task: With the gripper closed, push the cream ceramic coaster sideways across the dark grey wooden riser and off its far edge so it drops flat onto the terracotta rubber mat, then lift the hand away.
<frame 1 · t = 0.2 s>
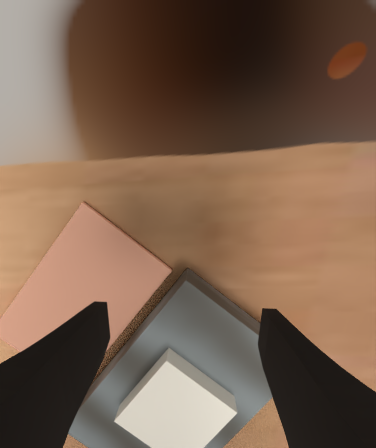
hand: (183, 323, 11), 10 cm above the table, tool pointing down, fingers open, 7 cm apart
coaster: (176, 400, 20), point 3 cm above the table, touching riser
riser: (179, 372, 23), on the table
mat: (80, 300, 22), on the table
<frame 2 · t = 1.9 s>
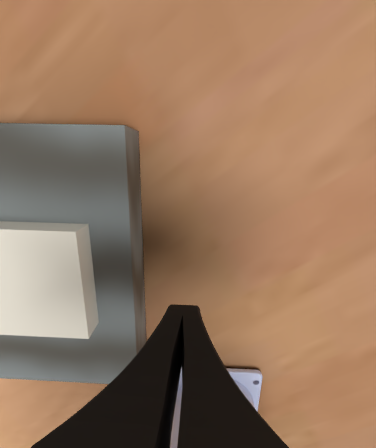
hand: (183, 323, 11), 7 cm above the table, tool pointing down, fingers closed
coaster: (40, 274, 15), point 3 cm above the table, touching riser
riser: (65, 255, 18), on the table
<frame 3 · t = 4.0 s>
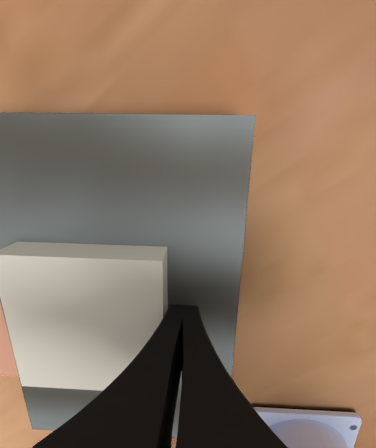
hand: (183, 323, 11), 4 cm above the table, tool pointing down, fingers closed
coaster: (98, 308, 12), point 3 cm above the table, touching gripper, riser
riser: (133, 279, 14), on the table
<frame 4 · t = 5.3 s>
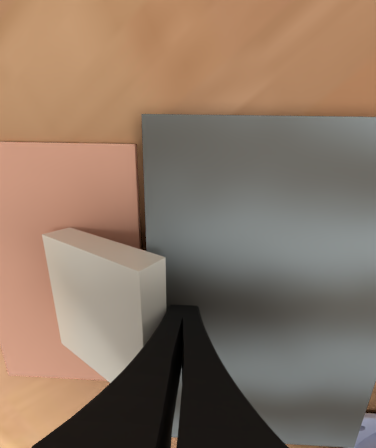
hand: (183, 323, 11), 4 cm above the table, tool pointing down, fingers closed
coaster: (115, 301, 12), point 2 cm above the table, tilted 31°
riser: (255, 283, 14), on the table
mat: (64, 276, 15), on the table
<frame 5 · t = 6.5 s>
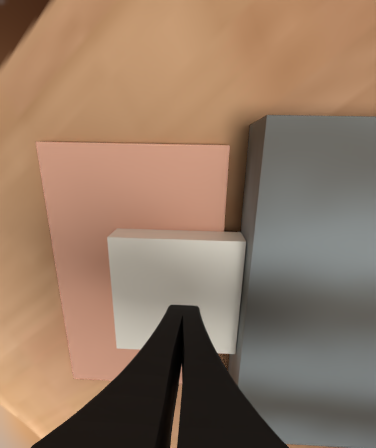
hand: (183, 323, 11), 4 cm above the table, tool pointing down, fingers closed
coaster: (177, 285, 14), resting on mat
riser: (334, 286, 14), on the table
mat: (139, 278, 14), on the table
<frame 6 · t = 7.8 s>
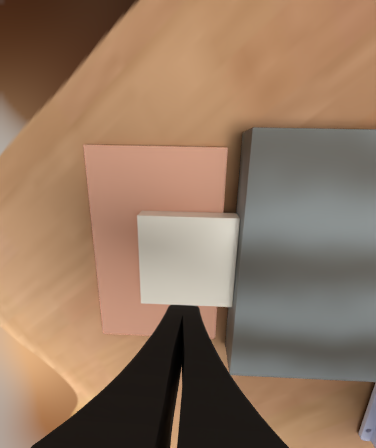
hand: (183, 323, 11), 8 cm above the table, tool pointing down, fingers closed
coaster: (187, 255, 18), resting on mat
riser: (309, 256, 18), on the table
mat: (157, 251, 18), on the table
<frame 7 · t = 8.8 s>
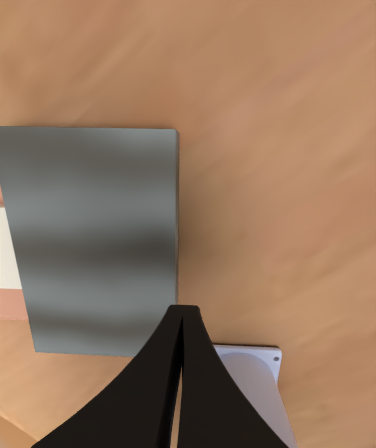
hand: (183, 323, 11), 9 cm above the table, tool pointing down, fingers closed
riser: (109, 243, 20), on the table
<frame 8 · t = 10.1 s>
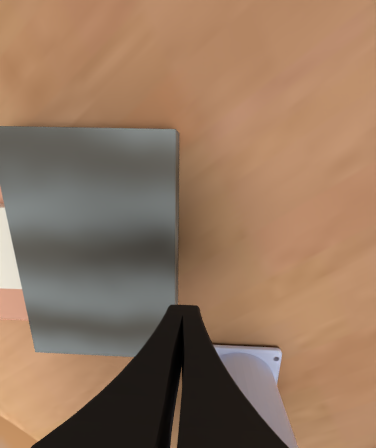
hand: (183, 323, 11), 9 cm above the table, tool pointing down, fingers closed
riser: (109, 243, 20), on the table
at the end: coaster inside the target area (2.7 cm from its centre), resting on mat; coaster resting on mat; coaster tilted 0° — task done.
